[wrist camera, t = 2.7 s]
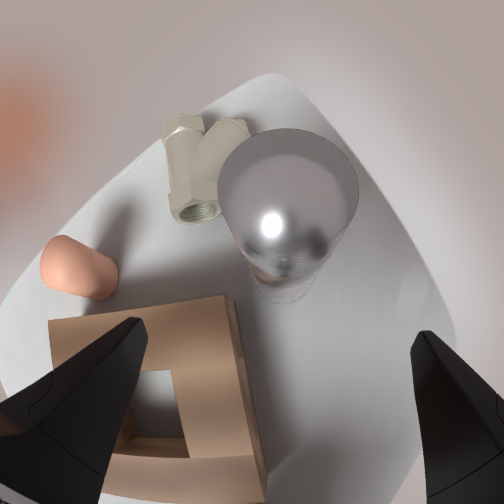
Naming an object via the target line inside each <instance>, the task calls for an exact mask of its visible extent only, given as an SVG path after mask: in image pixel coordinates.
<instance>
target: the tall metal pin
mask: <svg viewBox="0 0 504 504" xmlns="http://www.w3.org/2000/svg"><path fill="white" fill-rule="evenodd" d="M217 195H218V201H219V206H220V208H221V211H222V213H223V215H224V218H225V220H226V222H227V224H228V226H229V228H230V230H231V232H232V234H233V236H234V238H235V240H236V243H237V245H238V247H239V249H240V251H241V253H242V255H243V257H244V259H245V261H246V263H247V265H248V267H249V269H250V271H251V274H252V276H253V278H254V280H255V282H256V284H257V286H258V288H259V290H260V292H261V293H262V294H263V296H264V297H265V298H267V299H268V300H270V301H271V302H274V303H277V304H289V303H293V302H295V301H297V300H298V299H300V298H301V297H302V296H303V295H304V294H305V292H306V291H307V289H308V288H309V286H310V285H311V283H312V282H313V280H314V279H315V277H316V276H317V274H318V273H319V271H320V270H321V268H322V266H323V265H324V263H325V262H326V260H327V259H328V257H329V255H330V254H331V252H332V251H333V249H334V248H335V246H336V244H337V243H338V241H339V240H340V238H341V236H342V235H343V233H344V231H345V230H346V228H347V226H348V225H349V223H350V222H351V220H352V218H353V216H354V214H355V211H356V207H357V203H358V197H359V188H358V182H357V178H356V174H355V172H354V169H353V167H352V165H351V163H350V162H349V160H348V159H347V157H346V156H345V155H344V154H343V152H342V151H341V150H340V149H338V148H337V147H336V146H335V145H334V144H332V143H331V142H330V141H328V140H326V139H325V138H323V137H321V136H319V135H317V134H314V133H311V132H308V131H304V130H299V129H274V130H269V131H265V132H262V133H259V134H256V135H254V136H252V137H250V138H248V139H247V140H245V141H244V142H242V143H241V144H240V145H238V146H237V147H236V148H235V149H234V150H233V151H232V152H231V153H230V155H229V156H228V157H227V159H226V160H225V162H224V164H223V166H222V168H221V171H220V174H219V178H218V184H217Z"/></svg>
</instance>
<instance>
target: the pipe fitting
mask: <svg viewBox="0 0 504 504" xmlns="http://www.w3.org/2000/svg"><path fill="white" fill-rule="evenodd" d="M161 136H162V141H163V144H164V147H165V149H166V158H167V166H168V174H169V182H170V189H171V193H170V194H169V195H168V196H169V203H170V210H171V213H172V215H173V217H174V219H175V220H176V222H178V223H182V224H198V223H203V222H206V221H209V220H211V219H213V218H215V217H217V216H218V215H219V214H221V213H222V211H221V208H220V206H219V201H218V195H217V184H218V178H219V174H220V171H221V168H222V166H223V164H224V162H225V160H226V159H227V157H228V156H229V155H230V153H231V152H232V151H233V150H234V149H235V148H236V147H237V146H238V145H240V144H241V143H242V142H244V141H245V140H247V139H248V138H250V137H251V135H250V133H249V132H248V127H247V123H246V122H245V121H244V120H243V119H231V118H227V117H222V118H220V119H218V120H217V121H216V122H215V124H214V125H213V126H212V127H211V128H210V129H209V130H208V131H207V133H205V128H204V124H203V120H202V117H200V116H196V115H191V114H179V115H176V116H175V117H173V118H172V119H170V120H169V121H168V122H166V123H165V124H164V125H163V126H162V128H161Z"/></svg>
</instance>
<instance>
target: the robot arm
mask: <svg viewBox="0 0 504 504" xmlns="http://www.w3.org/2000/svg"><path fill="white" fill-rule="evenodd" d="M147 343H148V334H147V331H146V328H145V325H144V322H143V320H142V319H141V318H140V317H133V316H130V317H128V318H127V319H125V320H124V321H122V322H121V323H119V324H118V325H116V326H115V327H114V328H112V329H111V330H109V331H108V332H106V333H105V334H103V335H102V336H101V337H99V338H98V339H96V340H95V341H93V342H92V343H90V344H89V345H88V346H86V347H85V348H83V349H82V350H80V351H79V352H78V353H76V354H75V355H73V356H72V357H70V358H69V359H68V360H66V361H65V362H63V363H62V364H61V365H59V366H58V367H56V368H55V369H54V370H53V371H51V372H49V373H48V374H46V375H45V376H43V377H42V378H40V379H39V380H38V381H36V382H35V383H33V384H31V385H30V386H28V387H26V388H25V389H23V390H21V391H20V392H18V393H16V394H15V395H13V396H11V397H9V398H8V399H6V400H4V401H3V402H1V403H0V504H98V501H99V497H100V494H101V490H102V487H103V483H104V480H105V479H104V478H105V476H106V473H107V469H108V466H109V463H110V460H111V456H112V453H113V450H114V447H115V444H116V441H117V438H118V435H119V432H120V429H121V426H122V423H123V420H124V417H125V414H126V412H127V409H128V406H129V403H130V400H131V398H132V395H133V392H134V389H135V387H136V384H137V381H138V378H139V374H140V370H141V366H142V362H143V358H144V354H145V351H146V347H147ZM410 356H411V364H412V374H413V385H414V394H415V400H416V406H417V412H418V418H419V424H420V431H421V438H422V446H423V455H424V465H425V478H426V492H427V493H426V495H427V504H504V400H503V399H502V398H501V397H500V396H499V394H496V392H495V391H494V390H493V389H492V388H491V387H490V386H489V385H488V384H487V383H486V382H485V381H484V380H483V379H482V378H481V377H480V376H479V375H478V374H477V373H476V372H475V371H474V370H473V369H472V368H471V367H470V366H469V365H468V364H467V363H466V362H465V361H464V360H462V358H460V357H459V356H458V355H457V354H456V353H455V352H454V351H453V350H452V349H451V348H450V347H449V346H448V345H447V344H445V343H444V342H443V341H442V340H441V339H440V338H439V337H438V336H437V335H436V334H434V333H433V332H432V331H430V330H426V331H420V332H419V333H418V335H417V337H416V339H415V341H414V343H413V345H412V347H411V351H410Z"/></svg>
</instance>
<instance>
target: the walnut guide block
mask: <svg viewBox="0 0 504 504" xmlns="http://www.w3.org/2000/svg"><path fill="white" fill-rule="evenodd" d="M130 316H133V317H140V318H141V319H142V320H143V322H144V325H145V328H146V331H147V334H148V343H147V347H146V351H145V354H144V358H143V362H142V366H141V370H140V372H142V371H157V370H171V375H172V381H173V386H174V391H175V396H176V401H177V406H178V410H179V415H180V419H181V424H182V428H183V432H184V436H185V438H153V437H137V435H136V431H135V427H134V423H133V419H132V415H131V410H130V406H128V409H127V412H126V414H125V417H124V420H123V423H122V426H121V429H120V432H119V435H118V438H117V441H116V444H115V447H114V450H113V453H112V456H111V460H110V463H109V466H108V469H107V473H106V476H105V478H104V479H105V480H104V483H103V487H102V490H101V492H102V493H106V494H111V495H116V496H121V497H127V498H133V499H139V500H147V501H155V502H164V503H176V504H250V503H262V502H265V495H266V486H267V477H268V473H267V469H266V464H265V459H264V455H263V450H262V445H261V440H260V435H259V430H258V425H257V420H256V415H255V410H254V405H253V400H252V395H251V389H250V384H249V379H248V374H247V368H246V363H245V357H244V352H243V346H242V341H241V335H240V329H239V324H238V318H237V312H236V306H235V302H234V301H233V300H231V299H230V298H228V297H227V296H225V295H224V294H223V295H217V296H212V297H206V298H200V299H194V300H188V301H182V302H176V303H170V304H164V305H157V306H151V307H144V308H138V309H131V310H124V311H117V312H110V313H103V314H95V315H88V316H80V317H72V318H64V319H55V320H48V328H49V339H50V349H51V357H52V364H53V370H54V369H55V368H56V367H58V366H59V365H61V364H62V363H63V362H65V361H66V360H68V359H69V358H70V357H72V356H73V355H75V354H76V353H78V352H79V351H80V350H82V349H83V348H85V347H86V346H88V345H89V344H90V343H92V342H93V341H95V340H96V339H98V338H99V337H101V336H102V335H103V334H105V333H106V332H108V331H109V330H111V329H112V328H114V327H115V326H116V325H118V324H119V323H121V322H122V321H124V320H125V319H127V318H128V317H130Z"/></svg>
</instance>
